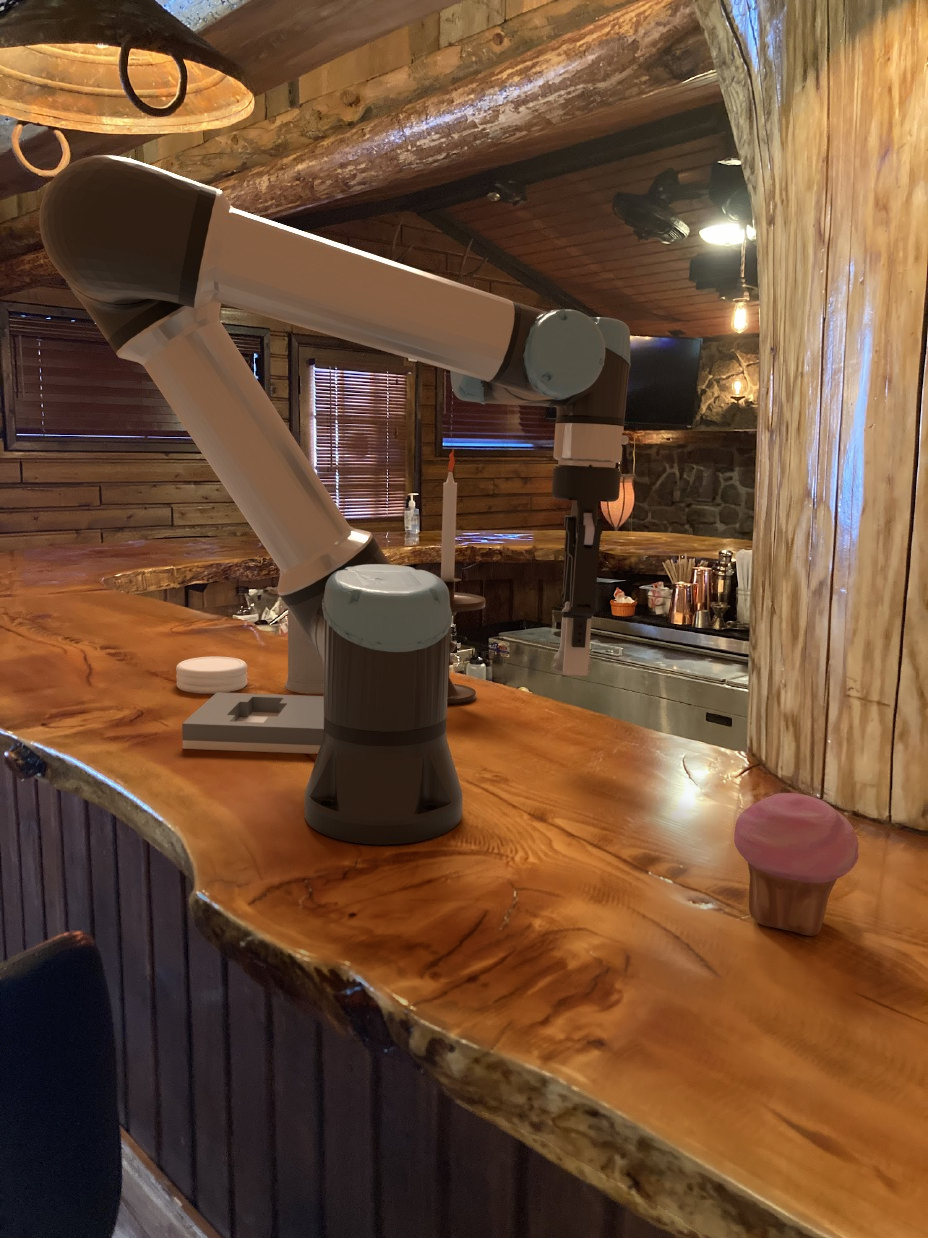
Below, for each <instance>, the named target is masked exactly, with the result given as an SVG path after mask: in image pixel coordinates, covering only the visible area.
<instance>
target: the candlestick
mask: <svg viewBox="0 0 928 1238" xmlns="http://www.w3.org/2000/svg"><path fill="white" fill-rule="evenodd" d="M454 453H455V450H454V449H452V451H451V453H450V454H449V461H448V467H447V468H448V471H449V472H447V473H448V475H447V479H446V482H443V488H442V489H443V490H442V493H443V495H442V525H441V526H442V527H441V557H440V558H441V559H440V560H441V562H440V563H441V565H440V566H441V567H440V577H439V578H440V579H441V580H443V582H444V583H445V584H446V586H447V588H448V590H449V596H450V608H451V612H452V615H451V616H452V617H453V616H457V613H460V612H471V611H479V610H482V609H485V607H486V598H485V597H484V596H481V595H477V594H473V593H465V592H455V586H456V585H455V583H456V582H461V581H462V579H460V578H456V577H455V563H456V562H455V559H456V558H455V557H456V531H457V530H456V529H457V524H456V523H457V502H458V501H457V500H458V499H457V497H458V482H455V480H454V476H453V475H454V474H453V471H454V467H455V456H454ZM451 626H452V624H451V625H450V636H449V666H448V695H447V707H448V706H460V705H466V704H469V703H473V702H474V701H475V700H476V690H475V689H474V688H472V687H470V686H467V685H464V684H459V683H458V684H457V683H453V681H452V680H451V677H450V668H451V666H453V665H454V661H453V660H451V654H452V653H454V651H455V649H456V643H454V642H453V641H452V640H451V635H452V634H451V631H452V630H451Z"/></svg>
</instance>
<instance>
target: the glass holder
mask: <svg viewBox="0 0 928 1238" xmlns="http://www.w3.org/2000/svg"><path fill="white" fill-rule="evenodd" d="M284 689H286V690H287V691H290V692H294V693H299V694H308V695H309V694H311V695H313V694H314V695H315V694H318V695H319V694H324V663H323V661H322V660H321V658H320V656H319V654H318V652H317V651H316V650H315V649H314V647H313V646H312V645H311V643H310V642H309V640H308V638H307V636H306V634H305V632H304V631H303V629H302V628H301V626H300V625H299V624H298V622H297V621H296V619H295V618H294V616H293V615H292V613H291V612H290V610H289V609H288V611H287V679H286V682H285V685H284Z"/></svg>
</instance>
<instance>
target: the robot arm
mask: <svg viewBox="0 0 928 1238" xmlns="http://www.w3.org/2000/svg"><path fill="white" fill-rule="evenodd" d="M38 224H39V231H40V237H41V241H42V244H43V246H44V249H45V252H46V254H47V257H48V258H49V261H50V262H51V263H52V265H53V266H54V268H55V270H57V272H58V273H59V275H60V276H61V277H62V278H63V279H64V280H65V282H66V283H67V286H68V287H69V289H70V290H71V292H72V293H73V294H74V296H75V297H76V298H77V299H78V301H80V303H81V305H82V306H83V307H84V309H85V310H86V311H87V313H88V315H89V316H90V318H91V319H92V321H93V322H94V323H95V325H96V327H97V328H98V329H99V331H100V333H101V334H102V335H103V337H104V339H106V341H107V343H108V345H110V347H111V349H112V351H114V353H115V354H116V356H117V357H118V358H119V359H123V360H127V361H132V362H134V363H138V364H140V365H142V366H143V367H144V369H145V370H146V372H147V374H148V375H149V376H150V378H151V380H152V381H153V383H155V385H156V387H157V389H159V391H160V393H161V394H162V395H163V397H164V399H165V400H166V402H167V403H168V405H169V406H170V408H171V410H172V411H173V412H174V414H175V415H176V417H177V418H178V420H179V421H180V423H181V424H182V425H183V427H184V429H185V430H186V432H187V433H188V434H189V436H190V438H191V439H192V441H193V442H194V444H195V445H196V446H197V447H196V448H197V449H199V451H200V453H201V454H202V455H203V457H204V458H205V460H206V462H207V463H208V464H209V466H210V468H211V469H212V470H213V472H214V473H215V475H216V476H217V478H218V479H219V481H220V483H221V484H222V486H224V488H225V489H226V491H227V492H228V494H229V496H230V497H231V499H232V500H233V502H234V504H235V506H236V507H237V508H238V509H239V511H240V512H241V514H242V516H243V517H244V518H245V520H246V521H247V523H248V524H249V526H250V527H251V529H252V530H253V532H254V533H255V534H256V536H257V538H258V539H259V540H260V542H261V544H262V545H263V547H264V548H265V550H266V551H267V553H268V554H269V555H270V557H271V559H272V560H273V562H274V563H275V564H276V566H277V568H278V569H279V579H278V584H277V589H276V591H277V593H278V595H279V596H280V598H281V599H282V601H283V603H284V604H285V605H286V607H287V608H288V609H289V610H290V612H291V613H292V615H293V616H294V618H295V619H296V621H297V622H298V624H299V625H300V626H301V628H302V629H303V631H304V632H305V634H306V636H307V638H308V640H309V642H310V643H311V645H312V646H313V647H314V649H315V650H316V651H317V652H318V654H319V656H320V658H321V660H322V661H323V663H324V693H323V696H324V736H323V740H322V743H321V746H320V749H319V752H318V754H317V755H316V758H315V761H314V763H313V767H312V770H311V773H310V777H309V778H308V782H307V784H306V787H305V793H304V819H305V821H306V823H307V824H308V825H309V826H310V827H311V828H312V829H314V830H315V831H317V832H318V833H320V834H323V835H324V836H327V837H330V838H332V839H336V840H340V841H344V842H349V843H357V844H363V845H400V844H401V845H402V844H409V843H416V842H422V841H426V840H430V839H433V838H436V837H439V836H441V835H444V834H446V833H447V832H450V831H451V830H453V828H455V827H457V825H459V823H460V822H461V819H462V818H463V816H462V815H463V801H464V800H463V797H464V796H463V789H462V786H461V784H460V780H459V776H458V773H457V770H456V766H455V763H454V759H453V757H452V753H451V750H450V746H449V743H448V740H447V717H448V716H447V715H448V706H447V695H448V666H449V636H450V637H451V635H450V625H451V626H452V622H453V619H452V618H453V616H451V615H452V612H451V608H450V596H449V590H448V588H447V586H446V584H445V583H444V582H443V580H441V579H440V578H441V577H439V576H437V574H434V573H432V572H429V571H427V570H423V569H415V567H411V566H407V565H397V564H391V563H390V561H389V559H388V558H387V556H386V555H385V553H384V552H383V550H382V548H381V547H380V545H379V544H378V542H377V540H376V538H374V535H373V534H372V532H371V531H367V530H363V529H358V528H354V527H352V526H351V525H350V524H349V523H348V521H347V520H346V518H345V517H344V515H343V513H342V512H341V510H340V508H339V506H338V505H337V504H336V502H335V501H334V499H333V498H332V496H331V495H330V493H329V491H328V489H327V488H326V487H325V484H323V482H322V480H321V478H320V477H319V475H318V474H317V472H316V471H315V469H314V468H313V466H312V464H311V463H310V461H309V459H308V458H307V456H306V455H305V453H304V452H303V450H302V449H301V447H300V445H299V444H298V443H297V441H296V439H295V437H294V436H293V434H292V432H291V431H290V430H289V428H288V427H287V424H286V423H285V421H284V420H283V418H282V416H281V415H280V414H279V413H278V410H277V408H276V407H275V406H274V405H273V403H272V400H270V398H269V396H268V395H267V393H266V391H265V390H264V389H263V386H262V385H261V383H260V382H259V381H258V379H257V377H256V376H255V373H254V372H253V371H252V370H251V368H250V366H249V364H248V363H247V361H246V360H245V358H244V356H243V355H242V353H241V352H240V351H239V349H238V347H237V345H236V344H235V342H234V341H233V339H232V338H231V335H229V332H227V330H226V328H225V326H224V325H223V324H222V322H221V320H220V319H221V318H220V311H221V306H222V305H224V306H229V307H232V308H236V309H240V310H243V311H246V312H250V313H253V314H257V315H259V316H264V317H267V318H271V319H273V320H278V321H280V322H283V323H284V322H285V323H288V324H291V325H294V326H297V327H301V328H304V329H308V330H310V331H311V330H312V331H315V332H317V333H321V334H325V335H328V336H332V337H335V338H339V339H342V340H345V341H349V342H353V343H356V344H359V345H363V346H365V347H369V348H373V349H376V350H381V351H383V352H386V353H389V354H390V353H391V354H393V355H396V356H400V357H404V358H407V359H410V360H412V361H413V360H414V361H417V362H420V363H423V364H428V365H431V366H434V367H438V368H441V369H445V370H448V371H450V382H451V388H452V392H453V393H454V396H456V398H457V399H459V400H461V401H465V402H473V403H479V404H482V405H487V404H496V405H497V404H498V405H512V406H513V405H514V406H531V407H532V406H535V407H537V406H538V407H539V406H540V407H545V408H556V418H555V425H554V426H555V428H554V440H553V441H554V442H553V443H554V444H553V459H555V460H557V461H558V464H557V465H555V466H554V467H553V468H552V481H551V496H552V497H553V498H554V499H557V500H565V501H572V502H571V510H570V515H564V521H563V522H564V523H563V527H564V531H565V535H564V545H563V547H564V552H565V553H564V564H563V567H564V568H563V579H562V581H563V583H562V592H561V596H560V597H561V599H562V606H563V608H564V607H565V603H566V602H569V610H568V612H562V611H561V614H562V615H561V618H562V619H561V630H560V646H561V643H562V638H563V633H564V626H563V623H564V622H565V618H567V619H566V634H565V648H564V663H563V674H562V675H564V674H566V675H565V676H572V675H581V676H588V675H589V673H588V666H589V665H588V661H589V657H590V643H591V629H592V619H593V618H592V617H594V616H595V613H596V607H595V606H596V596H597V595H596V594H597V584H598V583H597V580H598V572H599V571H598V569H599V568H598V567H599V555H600V547H601V539H602V538H601V536H602V535H603V525H604V519H603V518H600V517H599V516H598V515H599V514H598V512H599V511H598V509H599V508H598V505H599V504H598V503H599V502H604V503H605V502H606V503H612V502H613V503H614V502H616V501H618V500H619V499H620V490H621V489H620V488H621V476H622V472H621V471H620V468H617V467H616V464H618V463H620V462H622V458H623V446H622V445H627V444H629V440H630V438H629V436H628V435H623V433H624V432H625V431H624V427H625V423H626V422H625V420H626V419H625V417H626V409H627V408H626V406H627V395H628V385H629V375H630V374H629V373H630V368H631V365H632V364H631V331H630V328H629V326H628V324H626V322H624V321H622V320H619V319H617V318H612V317H602V316H599V317H598V316H597V317H596V316H595V317H592V316H588V314H585V313H583V312H581V311H579V310H575V309H567V308H566V309H563V308H562V309H561V308H560V309H555V308H554V309H552V310H548V311H546V310H542V309H539V308H536V307H533V306H531V305H527V304H524V303H520V302H516V301H513V300H510V299H508V298H505V297H501V296H500V295H496V294H493V293H491V292H486V291H483V290H481V289H479V288H474V287H472V286H469V285H466V284H464V283H463V284H462V283H459V282H457V281H454V280H451V279H448V278H445V277H442V276H439V275H436V274H433V273H430V272H427V271H423V270H421V269H417V268H414V267H411V266H408V265H406V264H402V263H399V262H396V261H395V260H391V259H388V258H384V257H382V256H378V255H377V254H373V253H370V252H366V251H363V250H360V249H358V248H355V247H352V246H349V245H345V244H343V243H339V242H336V241H333V240H331V239H327V238H324V237H322V236H318V235H315V234H313V233H309V232H306V231H302V230H299V229H297V228H294V227H291V226H287V225H285V224H282V223H280V222H279V223H278V222H276V221H273V220H270V219H267V218H264V217H260V216H258V215H254V214H252V213H248V212H246V211H243V210H241V209H237V208H234V206H232V205H231V203H230V202H229V200H228V198H227V197H226V195H225V193H224V192H223V191H222V190H220V189H218V188H216V187H213V186H209V185H206V184H204V183H200V182H198V181H194V180H192V179H190V178H186V177H184V176H181V175H178V174H176V173H174V172H173V173H172V172H170V171H167V170H165V169H162V168H159V167H156V166H154V165H150V164H146V163H143V162H141V161H138V160H134V159H132V158H127V157H124V156H117V155H109V154H108V155H107V154H105V155H104V154H101V155H91V156H88V157H83V158H79V159H78V160H75V161H74V162H71V163H70V164H68V165H67V166H65V167H64V168H63V169H61V170H60V171H58V173H57V174H56V175H55V176H54V177H53V178H52V180H51V181H50V183H49V184H48V186H47V188H46V189H45V191H44V194H43V198H42V200H41V203H40V207H39V223H38ZM560 646H559V647H560Z"/></svg>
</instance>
